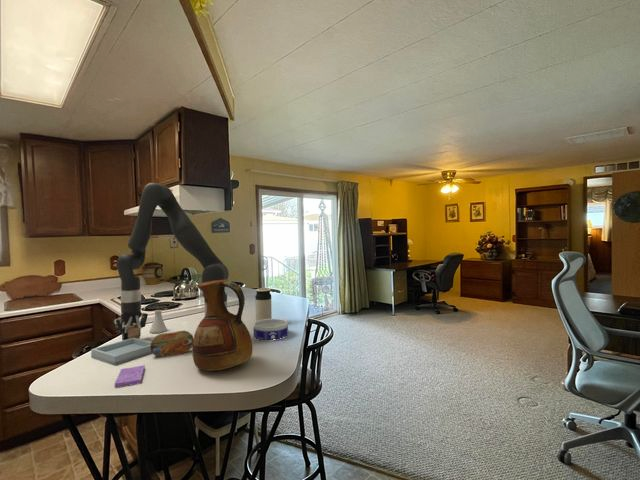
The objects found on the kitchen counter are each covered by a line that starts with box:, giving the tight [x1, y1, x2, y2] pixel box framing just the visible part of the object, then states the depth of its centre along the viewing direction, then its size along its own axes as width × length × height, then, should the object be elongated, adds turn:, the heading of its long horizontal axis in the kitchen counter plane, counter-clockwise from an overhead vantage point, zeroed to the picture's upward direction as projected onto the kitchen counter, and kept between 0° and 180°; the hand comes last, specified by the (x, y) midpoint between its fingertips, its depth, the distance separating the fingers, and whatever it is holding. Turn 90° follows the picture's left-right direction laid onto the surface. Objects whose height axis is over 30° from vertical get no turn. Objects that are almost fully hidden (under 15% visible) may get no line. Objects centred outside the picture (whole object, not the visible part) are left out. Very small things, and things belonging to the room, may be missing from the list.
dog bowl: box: [253, 318, 289, 341], centre depth 146 cm, size 15×15×6 cm
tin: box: [150, 330, 194, 358], centre depth 124 cm, size 15×3×8 cm, turn 117°
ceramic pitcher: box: [191, 279, 254, 371], centre depth 112 cm, size 20×20×30 cm
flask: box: [149, 309, 168, 334], centre depth 154 cm, size 7×7×10 cm
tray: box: [90, 338, 153, 366], centre depth 124 cm, size 16×16×3 cm
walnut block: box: [127, 325, 141, 339], centre depth 140 cm, size 4×4×6 cm
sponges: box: [114, 364, 146, 388], centre depth 103 cm, size 7×13×2 cm, turn 24°
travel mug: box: [254, 287, 273, 322], centre depth 165 cm, size 8×8×18 cm
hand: (131, 339), depth 140 cm, fingers closed on walnut block, 4 cm apart
